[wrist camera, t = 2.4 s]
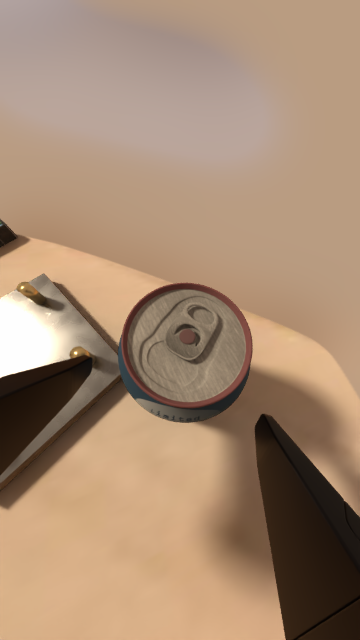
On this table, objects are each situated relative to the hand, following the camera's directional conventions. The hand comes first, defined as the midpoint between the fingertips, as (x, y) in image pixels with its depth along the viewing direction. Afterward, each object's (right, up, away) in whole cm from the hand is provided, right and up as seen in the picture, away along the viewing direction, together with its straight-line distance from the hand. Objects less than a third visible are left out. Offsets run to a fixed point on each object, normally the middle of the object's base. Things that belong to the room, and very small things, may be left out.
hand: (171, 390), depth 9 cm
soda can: (0, -2, +10) cm, 10 cm away
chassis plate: (-15, -1, +9) cm, 18 cm away
